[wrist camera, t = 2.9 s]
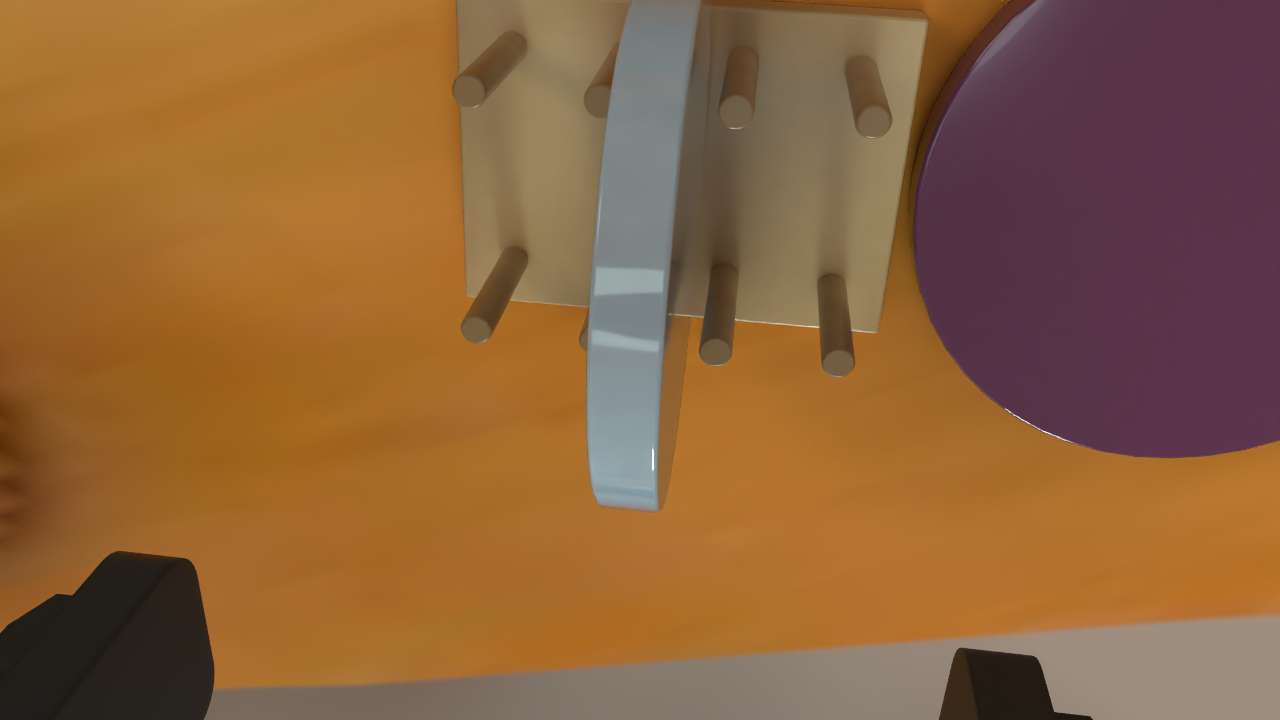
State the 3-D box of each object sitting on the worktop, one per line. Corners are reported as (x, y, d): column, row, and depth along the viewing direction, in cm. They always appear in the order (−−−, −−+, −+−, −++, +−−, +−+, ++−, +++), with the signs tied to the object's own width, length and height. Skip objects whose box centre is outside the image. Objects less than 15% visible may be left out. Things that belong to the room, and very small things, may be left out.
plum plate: (872, 409, 30) (875, 433, 28) (960, -121, 23) (968, -116, 22) (1384, 457, 28) (1406, 484, 27) (1618, -84, 22) (1659, -76, 21)
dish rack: (475, 281, 29) (419, 373, 25) (465, -20, 25) (399, 24, 21) (875, 317, 28) (892, 418, 24) (924, 10, 25) (954, 63, 20)
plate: (643, 356, 28) (579, 619, 20) (663, -57, 24) (592, 48, 15) (689, 360, 28) (646, 626, 20) (719, -54, 24) (681, 54, 15)
